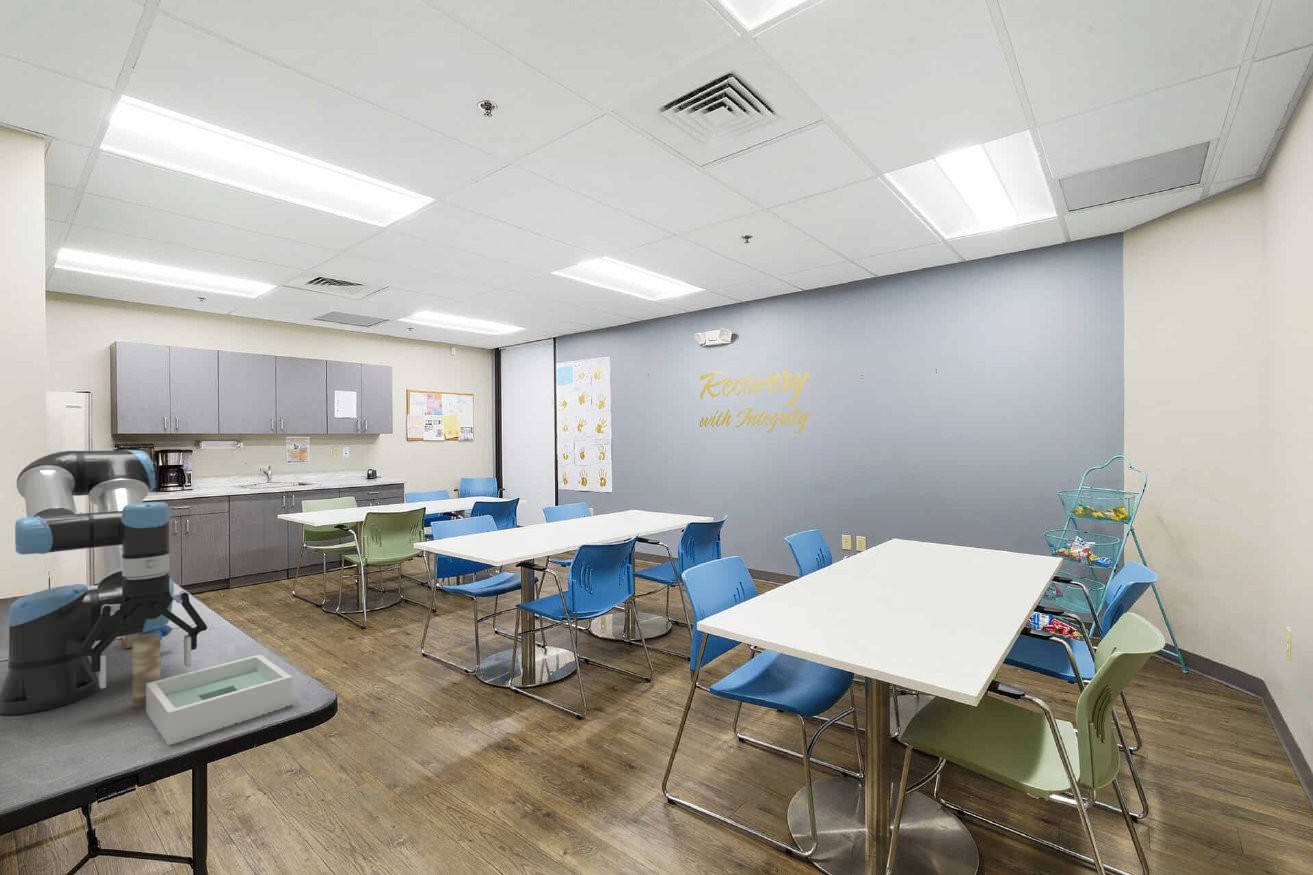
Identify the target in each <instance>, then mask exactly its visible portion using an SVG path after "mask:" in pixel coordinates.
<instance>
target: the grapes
mask: <svg viewBox="0 0 1313 875" xmlns="http://www.w3.org/2000/svg"><path fill="white" fill-rule="evenodd" d="M172 631H173V628H172V627H171V626H170V625H168V624H167V625H166V626H164V627H162V628H159V629H155V630H150V631H147V632H145V633H143V632H142V633H140V634H139V635H138V636H140V635H145V634H151V633H159V634H160V641H162V638H163V637H166V636H169V634H170V633H171V632H172ZM161 645H162V643H160V646H161Z"/></svg>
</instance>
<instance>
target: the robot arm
mask: <svg viewBox="0 0 1313 875" xmlns="http://www.w3.org/2000/svg"><path fill="white" fill-rule="evenodd" d="M154 470H155V468H154V464H153V461H152V459H151V457H150V455H149V454H148V453H147V452H145V451H143V450H139V449H138V450H135V449H134V450H133V449H132V450H130V449H126V448H125V449H121V450H64V451H58V452H55V453H50V454H47V455H43V456H42V457H40V458H38V459H35V460H34V461H32V462H30V463H28V465H26V466H25V467H24V468H23V469H22V470H21V471H20V472H19V473H18V476H17V479H16V489H17V492H18V494H20V496H21V497H22V498H24V502H25V511H26V517H22V518H19V519H17V520H16V521H15V526H14V539H15V540H14V543H15V552H16V553H17V554H19V555H36V554H39V555H43V554H48V553H58V552H59V553H60V552H67V551H75V550H76V551H77V550H83V549H85V550H86V549H93V548H102V556H103V557H102V558H103V564H104V574H105V576H104V577H103V578H101V580H100V581H99V582H98V584H97V588H94V589H93V588H92V589H89V588H88V586H87V585H86V584H83V583H75V584H68V585H63V586H57V587H53V588H52V587H51V588H47V589H44V590H40V591H37V592H33V593H30V594H28V595H24V596H23V597H22V596H21V597H20V598H18V599H16V600H15V601H14V602H12V603H11V605H10V606H9V610H8V619H7V622H6V626H7V627H8V656H7V657H8V672H7V673H6V675H5V678H4V680H3V683H2V685H1V687H0V715H3V714H4V716H5V715H6V716H9V715H10V716H13V715H23V714H31V713H35V712H37V713H38V712H41V711H47V710H50V709H56V708H57V707H62V706H65V705H68V704H73V703H74V702H77V701H80V700H82V699H84V698H86V697H89V696H90V695H92V694H94V693H95V692H96V691H97V690H98V689H101V690H102V689H105V688H107V654H105V651H106V650H107V648H108V647H110V645H111V644H112V643H113V642H114V641H115V640H116V638H120V637H121V636H126V635H131V634H137V633H142V632H143V633H145V632H147V631H150V630H155V629H159V628H162V627H164V626H166V625H168V623H169V622H172V623H173V624H175V626H178V627H179V628H180V629H182V630H183V631H184V632H185V633H188V634H184V635H183V665H184V666H185V668H191V667H192V651H194V650H197V648H198V635H199V633H201V632H204V631H206V630H208V626H207V624H206V623H205V621H204V620H203V619H202V617H201V616H200V614H199V613H198V612H197V611H196V609H195V607H194V605H192V603H191V602H190V594H189V593H188V592H187V591H184V590H183V591H180V592H178V593H174V591H175V590H174V586H175V585H174V584H175V583H174V580H173V578H171V577H170V574H168V572H169V571H170V520H171V515H170V507H169V504H167V503H166V502H163V501H161V502H159V501H153V502H152V501H151V502H149V501H148V502H144V501H143V500H145V499H146V498H147V496H148V495H149V494H150V493H149V492H152V491H153V490H154V488H155V485H156V484H155V483H156V474H155V472H154ZM74 496H76V497H77V496H87V497H88V500H89V502H90V503H91V504H93V505H95V506H97V508H98V509H97V510H98V512H89V513H88V512H84V513H83V512H82V513H78V509H77V507H76V502H75V500H74ZM174 601H175V602H176V604H180V605H181V606H182V607H183V609H184V610H185V612H186V613H187V614H188V616H189V617H190V618H191V620H192V621H193V622H194V624H195V625H196V626H194V627H192V626H191V625H190V624H188V623H187V622H185V621H184V620H183V619H181V618H180V617H178V616H177V615H176V614H174V613H173V612H172V611H173V602H174ZM121 638H122V637H121ZM96 642H97V644H95V643H96ZM94 645H95V646H94ZM93 646H94V647H93ZM89 657H91V658H90V659H91V660H90V659H89ZM97 672H98V675H97Z"/></svg>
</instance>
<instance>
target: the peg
mask: <svg viewBox="0 0 1313 875" xmlns="http://www.w3.org/2000/svg"><path fill="white" fill-rule="evenodd" d="M160 644H161V640H160V634H159V633H151V634H145V635H140V636H137V637H135V638H133V639H132V648H131V649H132V650H131V652H132V655H131V656H132V665H131V667H132V668H131V669H132V671H131V672H132V673H131V674H132V707H133V708H144V707H145V708H146V683H150V682H153V681H157V680H161V645H160Z"/></svg>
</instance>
